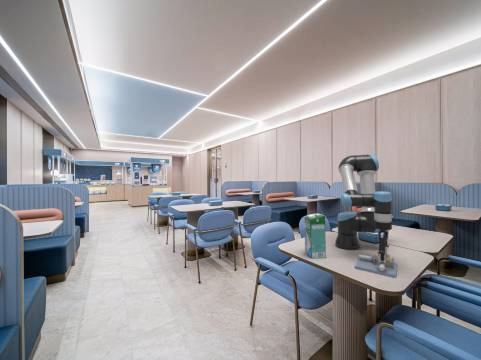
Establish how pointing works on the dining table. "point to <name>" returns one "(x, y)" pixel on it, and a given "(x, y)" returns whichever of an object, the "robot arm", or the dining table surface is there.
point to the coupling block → (386, 260)
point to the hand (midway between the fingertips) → (383, 262)
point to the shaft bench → (376, 266)
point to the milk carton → (315, 236)
